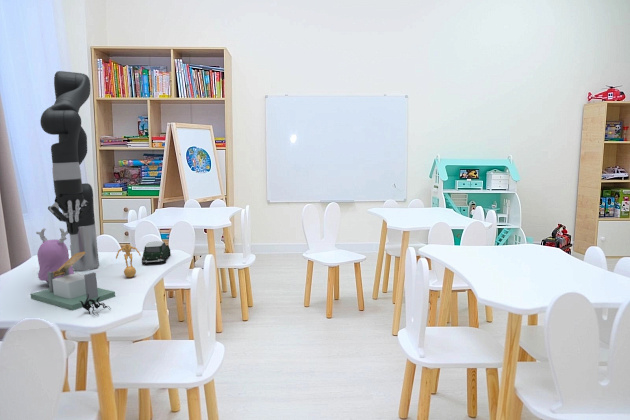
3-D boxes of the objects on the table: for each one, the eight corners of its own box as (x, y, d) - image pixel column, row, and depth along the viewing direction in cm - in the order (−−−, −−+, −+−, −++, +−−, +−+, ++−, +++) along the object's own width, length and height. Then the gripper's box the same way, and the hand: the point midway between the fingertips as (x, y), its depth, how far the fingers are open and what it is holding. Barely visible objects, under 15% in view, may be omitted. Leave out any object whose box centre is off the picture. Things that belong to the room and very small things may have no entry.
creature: (114, 310, 138) (86, 306, 138) (117, 293, 138) (89, 289, 137) (104, 320, 131) (75, 316, 130) (107, 302, 130) (78, 297, 129)
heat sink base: (31, 298, 148) (27, 270, 147) (73, 286, 160) (70, 260, 159) (72, 310, 136) (69, 280, 135) (115, 296, 148) (112, 268, 147)
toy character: (83, 281, 166) (77, 225, 163) (59, 290, 156) (52, 231, 154) (57, 279, 170) (51, 224, 167) (32, 287, 160) (25, 230, 158)
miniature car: (171, 254, 204) (170, 236, 203) (164, 265, 186) (162, 245, 185) (150, 256, 203) (148, 238, 202) (141, 266, 185) (139, 246, 184)
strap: (53, 277, 150) (51, 272, 150) (62, 275, 152) (60, 270, 153) (77, 257, 141) (74, 251, 141) (86, 255, 144) (84, 249, 144)
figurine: (118, 280, 166) (115, 247, 164) (117, 276, 171) (114, 244, 170) (143, 276, 170) (140, 244, 168) (141, 272, 175) (138, 241, 173)
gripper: (80, 176, 149) (86, 229, 151) (38, 179, 138) (44, 237, 140) (95, 176, 145) (100, 231, 147) (52, 179, 134) (59, 239, 136)
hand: (73, 234), depth 143 cm, fingers closed
